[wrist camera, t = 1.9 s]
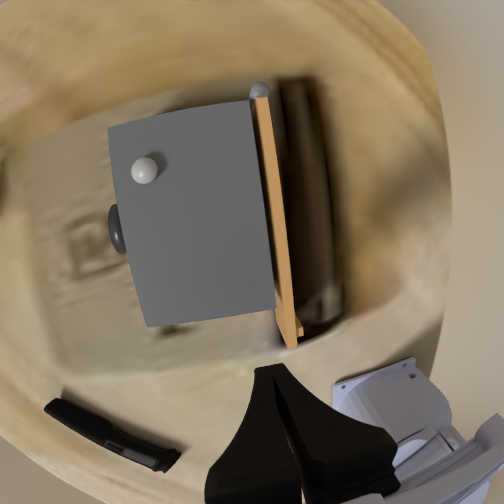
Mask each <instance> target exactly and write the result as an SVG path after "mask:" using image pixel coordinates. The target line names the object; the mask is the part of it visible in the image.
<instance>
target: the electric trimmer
mask: <svg viewBox="0 0 504 504" xmlns="http://www.w3.org/2000/svg"><path fill="white" fill-rule="evenodd" d="M44 411H45V412H46V413H47V414H49V415H50V416H52V417H53V418H55V419H56V420H58V421H59V422H61V423H62V424H64V425H65V426H67V427H69V428H70V429H72V430H74V431H75V432H77V433H79V434H80V435H82V436H84V437H86V438H87V439H89V440H91V441H93V442H94V443H96V444H98V445H100V446H102V447H104V448H106V449H108V450H110V451H112V452H114V453H116V454H118V455H120V456H123V457H125V458H127V459H129V460H132V461H134V462H136V463H139V464H141V465H143V466H146V467H148V468H150V469H152V470H153V471H154V472H157V471H162V470H163V471H162V472H163V473H166V472H167V471H168V470H169V469H170V468H171V467H172V466H173V465H174V464H175V463H176V461H177V460H178V459H179V458H180V456H181V453H177V450H175V449H173V450H171V451H167V450H164V449H161V448H158V447H156V446H153V445H150V444H148V443H145V442H143V441H141V440H138V439H136V438H134V437H131V436H129V435H127V434H125V433H122V432H120V431H118V430H116V429H114V427H113V426H112V425H111V424H110V423H109V422H108V421H106V420H104V419H101V418H99V417H97V416H95V415H93V414H90V413H88V412H86V411H84V410H82V409H80V408H77V407H75V406H73V405H71V404H69V403H67V402H65V401H63V400H61V399H59V398H55V399H54V400H52V401H51V402H50V403H48V404H47V405H46V406H45V408H44Z"/></svg>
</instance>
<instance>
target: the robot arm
mask: <svg viewBox="0 0 504 504" xmlns="http://www.w3.org/2000/svg"><path fill="white" fill-rule="evenodd" d="M415 363H416V359H415V358H414V357H410V358H408V359H405V360H403V361H400V362H398V363H395V364H392V365H390V366H387V367H384V368H382V369H379V370H376V371H373V372H370V373H367V374H364V375H361V376H358V377H355V378H351V379H348V380H345V381H341V382H338V383H336V384H334V386H333V396H332V408H331V407H330V406H328V405H327V404H325V403H324V402H322V401H321V400H320V399H318V398H317V397H316V396H314V395H313V394H312V393H311V392H310V391H308V390H307V389H306V388H305V387H304V386H303V385H302V384H301V383H300V382H299V381H298V380H297V379H296V378H295V377H294V376H293V375H292V374H291V372H290V371H289V370H288V369H287V367H286V366H285V365H284V364H283V363H279V364H274V365H269V366H264V367H258V368H256V369H255V370H254V373H255V377H254V385H253V390H252V395H251V399H250V402H249V405H248V408H247V411H246V414H245V416H244V419H243V421H242V423H241V425H240V427H239V429H238V431H237V433H236V435H235V436H234V438H233V440H232V441H231V443H230V444H229V446H228V447H227V448H226V450H225V451H224V453H223V454H222V455H221V456H220V458H219V459H218V460H217V461H216V462H215V463H214V464H213V465H212V467H211V468H210V469H209V472H208V475H207V479H206V483H205V490H204V496H205V503H206V504H302V490H303V494H304V498H305V502H306V504H483V502H484V500H485V497H486V495H487V493H488V491H489V488H490V486H491V483H492V481H491V479H490V478H491V477H493V476H494V475H495V474H496V473H497V472H498V471H499V470H500V469H501V468H502V467H503V466H504V419H503V418H502V417H501V416H500V415H499V414H498V413H496V414H495V415H493V416H492V417H491V418H490V419H488V420H487V421H486V422H485V423H483V424H482V425H481V426H480V428H479V429H478V430H477V432H476V434H475V436H474V437H473V438H472V439H471V440H469V441H468V442H466V441H465V439H464V438H463V437H462V436H461V435H460V433H459V432H458V431H457V430H456V429H455V428H454V427H453V425H451V421H452V413H451V409H450V405H449V403H448V401H447V399H446V397H445V396H444V395H443V394H442V392H441V391H440V390H439V389H438V388H437V387H436V386H435V385H434V384H433V383H432V382H431V381H430V380H429V379H428V378H427V377H426V376H425V375H424V374H423V373H422V372H421V371H420V370H419V369H418V368H417V367H416V366H415ZM343 385H344V386H343ZM286 436H287V437H286ZM287 439H288V440H287ZM289 444H290V445H289ZM290 447H291V448H290Z"/></svg>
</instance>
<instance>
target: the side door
mask: <svg viewBox="0 0 504 504" xmlns="http://www.w3.org/2000/svg"><path fill="white" fill-rule="evenodd" d="M269 93H270V88H269V86H268V85H267V84H266V83H263V82H257V83H255V84H254V85H253V86H252V88H251V91H250V94H249V97H248V100H249V105H250V111H251V118H252V125H253V131H254V138H255V145H256V152H257V159H258V166H259V173H260V180H261V187H262V195H263V202H264V209H265V217H266V225H267V232H268V240H269V248H270V256H271V264H272V272H273V280H274V288H275V297H276V305H277V308H275V312H276V320H277V324H278V326H279V328H280V331H281V333H282V336H283V338H284V340H285V343H286V345H287V348H288V349H293V348H297V337H298V336H303V327H302V325H301V323H300V322H299V320H298V318H297V316H296V315H295V313H294V302H293V291H292V281H291V271H290V261H289V252H288V243H287V234H286V225H285V217H284V209H283V201H282V193H281V185H280V178H279V170H278V163H277V156H276V149H275V142H274V135H273V129H272V122H271V116H270V110H269V104H268V95H269Z"/></svg>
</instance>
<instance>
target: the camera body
mask: <svg viewBox="0 0 504 504" xmlns="http://www.w3.org/2000/svg"><path fill="white" fill-rule="evenodd" d="M108 139H109V150H110V159H111V167H112V175H113V182H114V188H115V195H116V201H117V204H114V205H112V206H111V208H110V210H109V215H108V227H109V234H110V238H111V241H112V243H113V246H114V248H115V249H116V251H117V252H118V253H120V254H125V253H127V256H128V260H129V264H130V268H131V272H132V276H133V280H134V284H135V288H136V291H137V295H138V298H139V302H140V305H141V309H142V312H143V315H144V319H145V322H146V325H147V327H156V326H164V325H172V324H180V323H188V322H195V321H202V320H209V319H216V318H222V317H229V316H235V315H241V314H247V313H253V312H259V311H264V310H270V309H275V308H277V305H276V297H275V288H274V280H273V272H272V264H271V256H270V248H269V240H268V232H267V225H266V217H265V209H264V202H263V195H262V187H261V180H260V173H259V166H258V159H257V152H256V145H255V138H254V131H253V125H252V118H251V111H250V105H249V100H246V101H237V102H228V103H221V104H214V105H207V106H201V107H195V108H189V109H184V110H178V111H173V112H169V113H164V114H159V115H155V116H151V117H147V118H143V119H139V120H135V121H131V122H127V123H124V124H120V125H117V126H113V127H110V128H108Z"/></svg>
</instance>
